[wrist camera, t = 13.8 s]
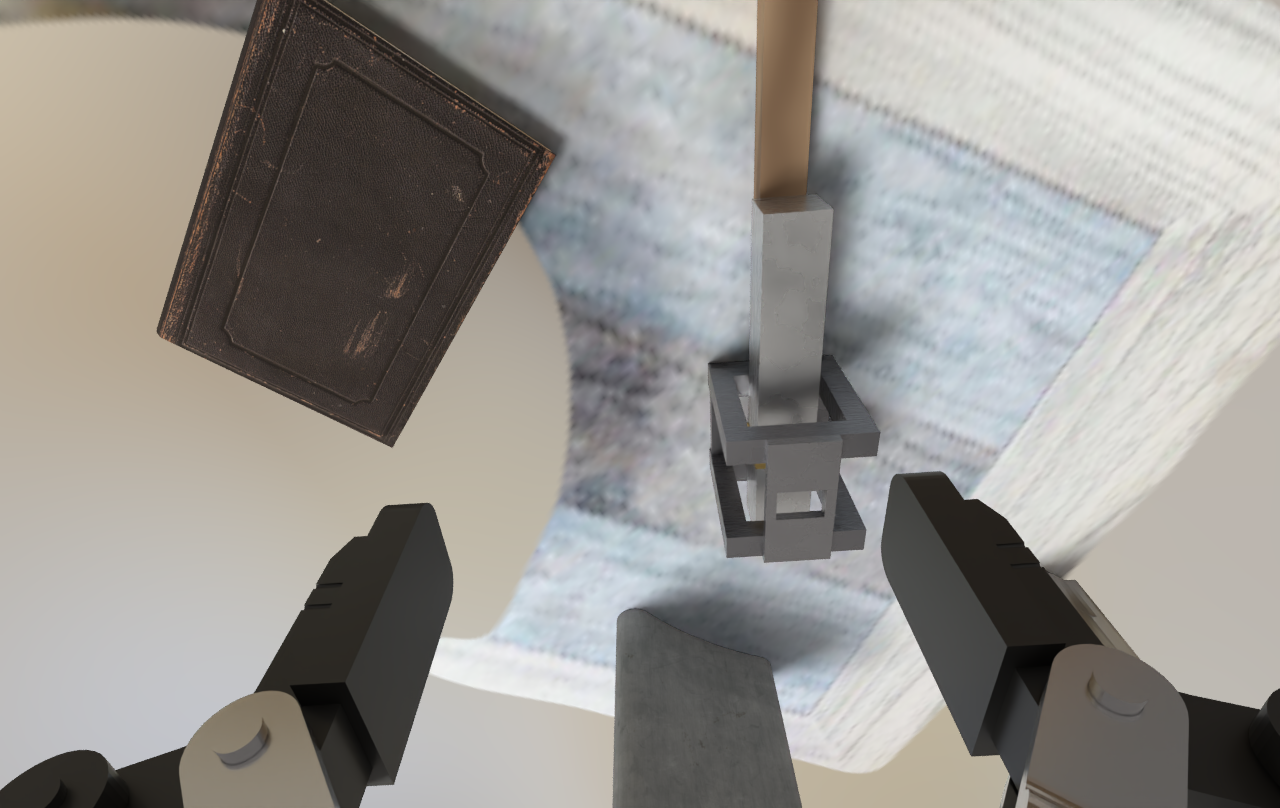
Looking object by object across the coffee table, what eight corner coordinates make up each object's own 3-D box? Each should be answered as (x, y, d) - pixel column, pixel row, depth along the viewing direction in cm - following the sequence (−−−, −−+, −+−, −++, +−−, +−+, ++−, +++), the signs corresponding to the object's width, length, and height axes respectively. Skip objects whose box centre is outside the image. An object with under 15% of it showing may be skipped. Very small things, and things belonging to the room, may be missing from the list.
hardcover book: (559, 149, 37) (555, 156, 35) (402, 430, 46) (391, 448, 44) (284, -36, 32) (261, -40, 30) (172, 318, 42) (149, 333, 40)
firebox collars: (832, 355, 43) (883, 437, 34) (822, 459, 47) (866, 556, 39) (707, 363, 43) (727, 448, 35) (709, 466, 48) (727, 564, 39)
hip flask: (777, 663, 59) (838, 923, 42) (752, 687, 61) (800, 947, 44) (628, 603, 55) (627, 865, 38) (605, 632, 57) (594, 894, 39)
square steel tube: (750, 198, 36) (762, 215, 33) (817, 193, 36) (836, 210, 33) (745, 504, 47) (754, 539, 44) (797, 501, 47) (809, 536, 44)
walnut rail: (813, -102, 31) (824, -109, 29) (790, 342, 43) (796, 355, 41) (759, -97, 31) (767, -105, 29) (751, 344, 43) (756, 357, 41)
